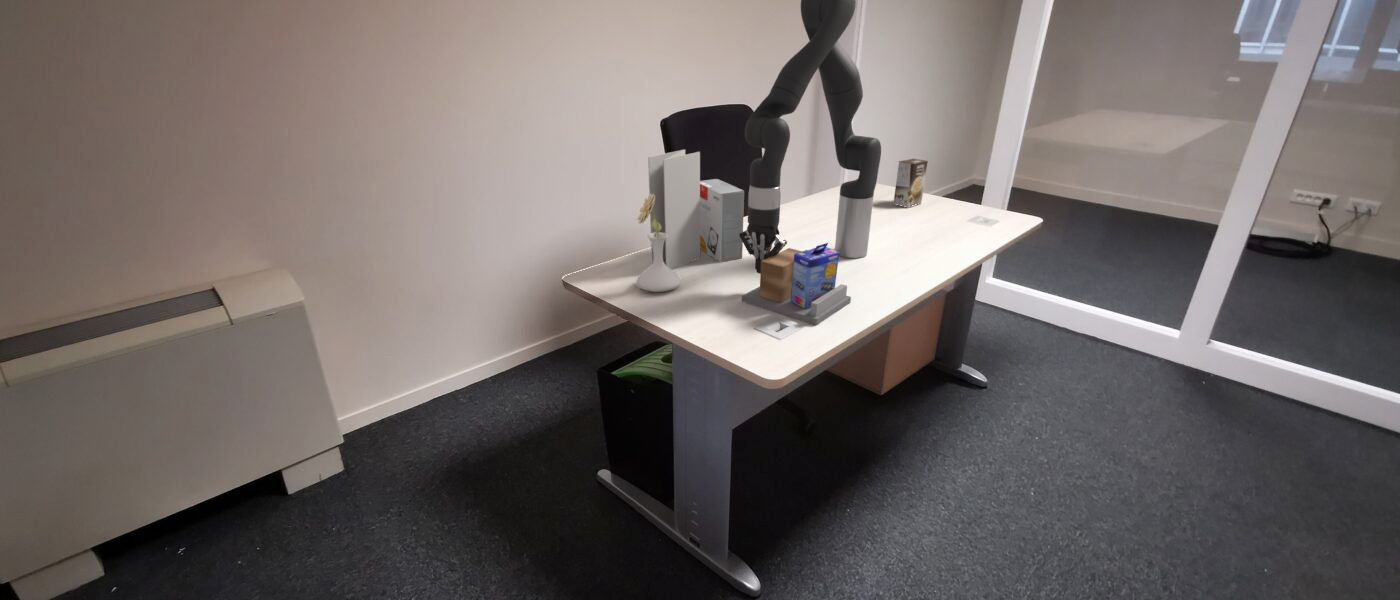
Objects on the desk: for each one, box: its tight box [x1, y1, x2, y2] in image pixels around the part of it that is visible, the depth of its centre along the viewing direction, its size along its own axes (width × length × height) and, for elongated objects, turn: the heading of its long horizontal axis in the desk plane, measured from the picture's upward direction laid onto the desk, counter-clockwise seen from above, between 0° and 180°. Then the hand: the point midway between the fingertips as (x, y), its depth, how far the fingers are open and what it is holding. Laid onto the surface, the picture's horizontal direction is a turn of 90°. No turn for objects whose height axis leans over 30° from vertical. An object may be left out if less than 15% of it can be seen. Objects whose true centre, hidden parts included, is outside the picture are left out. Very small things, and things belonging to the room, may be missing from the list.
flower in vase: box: [635, 193, 682, 293], centre depth 152 cm, size 13×11×25 cm
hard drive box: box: [700, 178, 745, 263], centre depth 178 cm, size 16×8×20 cm, turn 27°
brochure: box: [647, 149, 701, 270], centre depth 168 cm, size 14×6×30 cm, turn 141°
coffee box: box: [892, 158, 929, 208], centre depth 227 cm, size 9×6×16 cm
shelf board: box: [741, 284, 852, 326], centre depth 149 cm, size 16×20×4 cm
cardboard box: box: [759, 247, 803, 303], centre depth 149 cm, size 12×6×9 cm, turn 140°
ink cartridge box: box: [791, 242, 840, 309], centre depth 143 cm, size 10×6×14 cm, turn 126°
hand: (761, 272), depth 154 cm, fingers closed
